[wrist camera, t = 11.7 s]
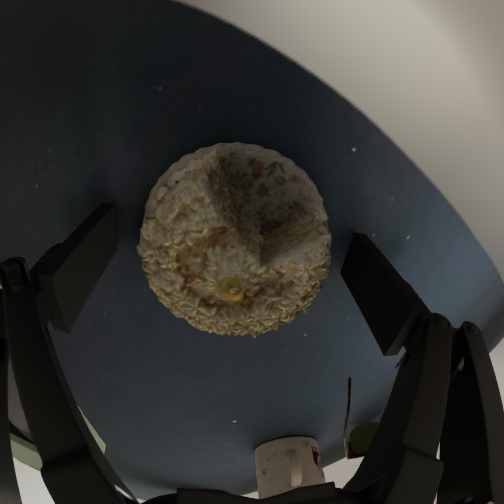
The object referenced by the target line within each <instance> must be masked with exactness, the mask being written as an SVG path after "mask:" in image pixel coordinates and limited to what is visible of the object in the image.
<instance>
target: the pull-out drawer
mask: <svg viewBox="0 0 504 504" xmlns="http://www.w3.org/2000/svg"><path fill="white" fill-rule="evenodd" d="M1 288H2V286H1V283H0V289H1ZM8 419H9V432H10V433H12V434H14V435H15V436H17V437H19V438H21V439H23V440H26V441H28V442H30V443H32V444H34V445H35V443H34V441H33V438H32V435H31V433H30V430H29V427H28V424H27V421H26V418H25V415H24V412H23V408H22V405H21V401H20V398H19V394H18V390H17V386H16V382H15V378H14V373H13V369H12V364H11V359H10V353H9V362H8Z"/></svg>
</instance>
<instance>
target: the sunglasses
mask: <svg viewBox="0 0 504 504" xmlns="http://www.w3.org/2000/svg"><path fill="white" fill-rule="evenodd" d="M459 369H460V367H459ZM350 397H351V378H349V381H348V405H347V413H346V419H345V426H344V446H345V438H346V429H347V422H348V416H349V410H350ZM378 425H379V423H377V422H367V423H364V424H361V425H359V426H357V427H355V428H354V429H353V430H352V431H351V433H350V442H348V446H349V453H348V454H347V452H346V449H345V452H346V456H347V459H353V458H359V457H363V456H365V454H366V452H367V450H368V448H369V445H370V443H371V441H372V439H373V437H374V434H375V432H376V430H377V427H378Z"/></svg>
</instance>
